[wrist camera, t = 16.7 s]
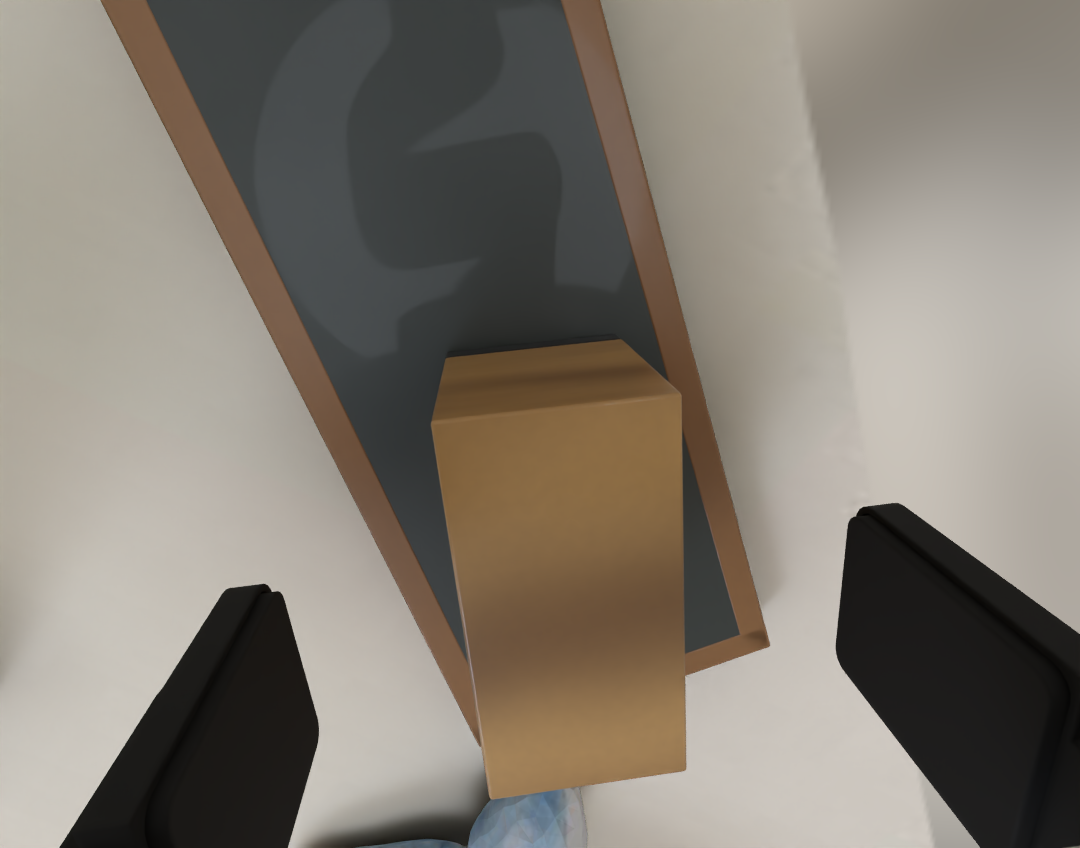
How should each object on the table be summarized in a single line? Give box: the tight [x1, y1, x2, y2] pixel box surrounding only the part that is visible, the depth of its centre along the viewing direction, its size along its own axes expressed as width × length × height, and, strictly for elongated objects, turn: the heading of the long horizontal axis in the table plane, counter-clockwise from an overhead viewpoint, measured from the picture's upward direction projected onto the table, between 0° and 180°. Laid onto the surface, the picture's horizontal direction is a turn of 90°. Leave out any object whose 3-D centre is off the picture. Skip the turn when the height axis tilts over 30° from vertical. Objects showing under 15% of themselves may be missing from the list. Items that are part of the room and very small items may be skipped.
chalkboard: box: [101, 0, 770, 747], centre depth 15 cm, size 22×9×1 cm, turn 19°
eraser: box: [431, 334, 686, 800], centre depth 13 cm, size 8×4×5 cm, turn 5°
